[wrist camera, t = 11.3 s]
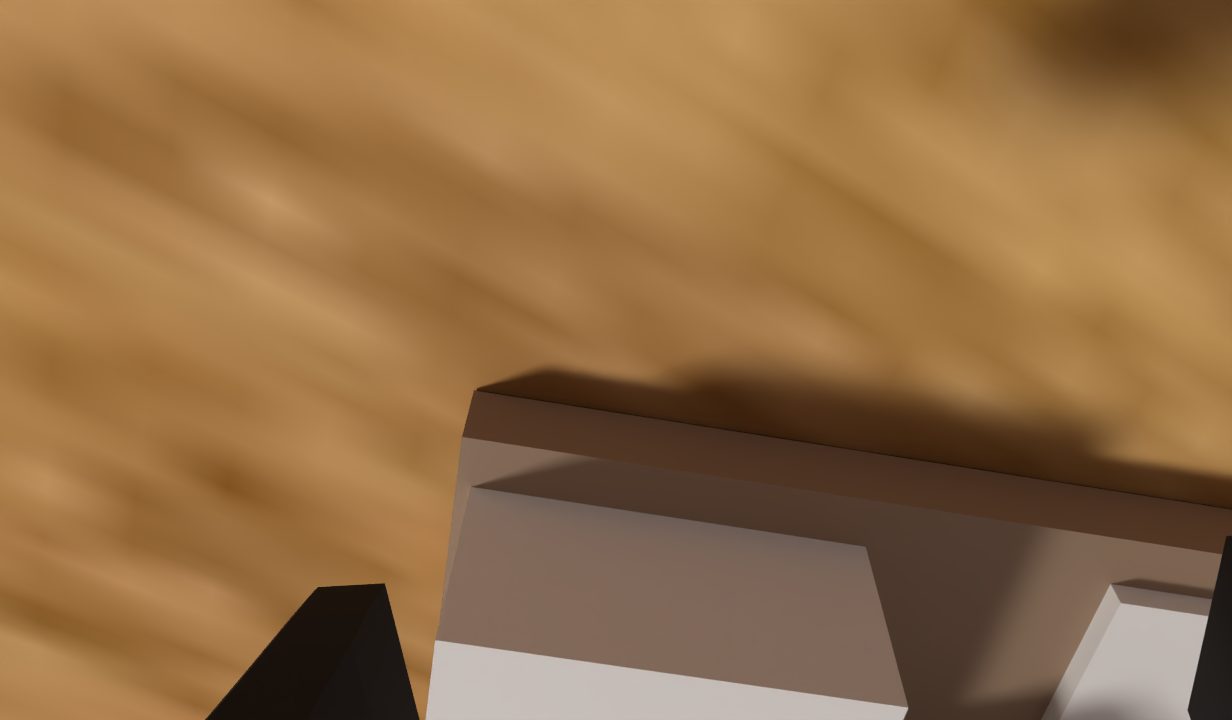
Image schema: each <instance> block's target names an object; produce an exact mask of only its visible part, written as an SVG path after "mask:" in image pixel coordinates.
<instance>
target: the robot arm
mask: <svg viewBox="0 0 1232 720" xmlns="http://www.w3.org/2000/svg"><path fill="white" fill-rule="evenodd" d="M1187 711H1188V713H1189V716H1190V719H1191V720H1232V536H1226V540H1225V544H1224V549H1223V553H1222V558H1221V562H1220V567H1219V571H1218V576H1217V580H1216V584H1215V589H1214V593H1213V598H1212V602H1211V607H1210V611H1209V616H1208V620H1207V625H1206V629H1205V634H1204V638H1203V643H1202V647H1201V652H1200V656H1199V661H1198V665H1197V670H1196V674H1195V678H1194V683H1193V687H1192V692H1191V696H1190V701H1189V705H1188V710H1187ZM205 720H419V716H418V712H417V709H416V705H415V701H414V697H413V693H412V689H411V685H410V681H409V677H408V673H407V669H406V665H405V661H404V657H403V653H402V649H401V645H400V642H399V638H398V634H397V630H396V626H395V622H394V618H393V614H392V610H391V606H390V602H389V598H388V594H387V590H386V586H385V583H384V584H366V585H348V586H331V587H318V588H317V589H316V590H315V591H314V592H313V593H312V594H311V595H310V596H309V597H308V599H307V600H306V601H305V602H304V603H303V604H302V606H301V607H300V608H299V609H298V610H297V611H296V612H295V614H294V615H293V616H292V617H291V618H290V619H289V621H288V622H287V623H286V624H285V625H284V627H283V628H282V629H281V630H280V631H279V633H278V634H277V635H276V636H275V637H274V639H273V640H272V641H271V642H270V643H269V645H268V646H267V647H266V648H265V649H264V651H263V652H262V653H261V654H260V655H259V657H258V658H257V659H256V660H255V661H254V663H253V664H252V665H251V666H250V667H249V669H248V670H247V671H246V672H245V673H244V675H243V676H242V677H241V678H240V679H239V680H238V682H237V683H236V684H235V685H234V686H233V688H232V689H231V690H230V691H229V692H228V694H227V695H226V696H225V697H224V698H223V699H222V701H221V702H220V703H219V704H218V705H217V707H216V708H215V709H214V710H213V711H212V712H211V714H210V715H209V716H208V717H207V718H206V719H205Z"/></svg>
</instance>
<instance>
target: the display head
mask: <svg viewBox="0 0 1232 720" xmlns="http://www.w3.org/2000/svg"><path fill="white" fill-rule="evenodd" d="M1226 536H1232V510H1231V509H1225V508H1218V507H1212V506H1206V505H1199V504H1193V503H1187V502H1180V501H1174V500H1168V499H1161V498H1155V497H1148V496H1142V495H1136V494H1129V493H1123V492H1117V491H1110V490H1104V489H1098V488H1091V487H1085V486H1079V485H1072V484H1066V483H1059V482H1053V481H1047V480H1040V479H1034V478H1028V477H1021V476H1015V475H1009V474H1002V473H996V472H990V471H983V470H977V469H970V468H964V467H958V466H951V465H945V464H939V463H932V462H926V461H920V460H913V459H907V458H901V457H894V456H888V455H881V454H875V453H869V452H862V451H856V450H850V449H843V448H837V447H831V446H824V445H818V444H812V443H805V442H799V441H792V440H786V439H780V438H773V437H767V436H761V435H754V434H748V433H742V432H735V431H729V430H723V429H716V428H710V427H703V426H697V425H691V424H684V423H678V422H672V421H665V420H659V419H653V418H646V417H640V416H634V415H627V414H621V413H614V412H608V411H602V410H595V409H589V408H583V407H576V406H570V405H564V404H557V403H551V402H545V401H538V400H532V399H525V398H519V397H513V396H506V395H500V394H494V393H487V392H481V391H475V390H474V393H473V397H472V401H471V405H470V409H469V412H468V416H467V420H466V424H465V428H464V432H463V436H462V442H461V450H460V459H459V467H458V475H457V483H456V491H455V499H454V508H453V516H452V524H451V532H450V540H449V548H448V557H447V565H446V573H445V581H444V589H443V597H442V606H441V614H440V622H439V626H438V631H437V635H436V639H435V647H434V655H433V664H432V672H431V680H430V688H429V697H428V705H427V713H426V720H1191V719H1190V716H1189V713H1188V711H1187V710H1188V705H1189V701H1190V696H1191V692H1192V687H1193V683H1194V678H1195V674H1196V670H1197V665H1198V661H1199V656H1200V652H1201V647H1202V643H1203V638H1204V634H1205V629H1206V625H1207V620H1208V616H1209V611H1210V607H1211V602H1212V598H1213V593H1214V589H1215V584H1216V580H1217V576H1218V571H1219V567H1220V562H1221V558H1222V553H1223V549H1224V544H1225V540H1226Z"/></svg>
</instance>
